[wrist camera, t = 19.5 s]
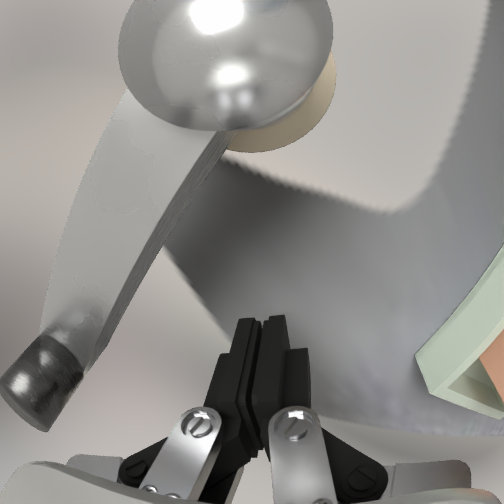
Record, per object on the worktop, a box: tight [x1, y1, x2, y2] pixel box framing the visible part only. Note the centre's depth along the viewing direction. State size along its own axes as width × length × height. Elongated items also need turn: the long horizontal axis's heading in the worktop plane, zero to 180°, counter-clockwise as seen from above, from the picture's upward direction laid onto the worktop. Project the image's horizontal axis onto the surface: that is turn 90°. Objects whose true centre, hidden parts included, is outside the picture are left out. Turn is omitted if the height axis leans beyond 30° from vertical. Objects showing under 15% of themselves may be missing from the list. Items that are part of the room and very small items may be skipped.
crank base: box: [227, 51, 336, 153], centre depth 9 cm, size 6×6×1 cm
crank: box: [0, 0, 333, 432], centre depth 8 cm, size 16×4×7 cm, turn 144°
